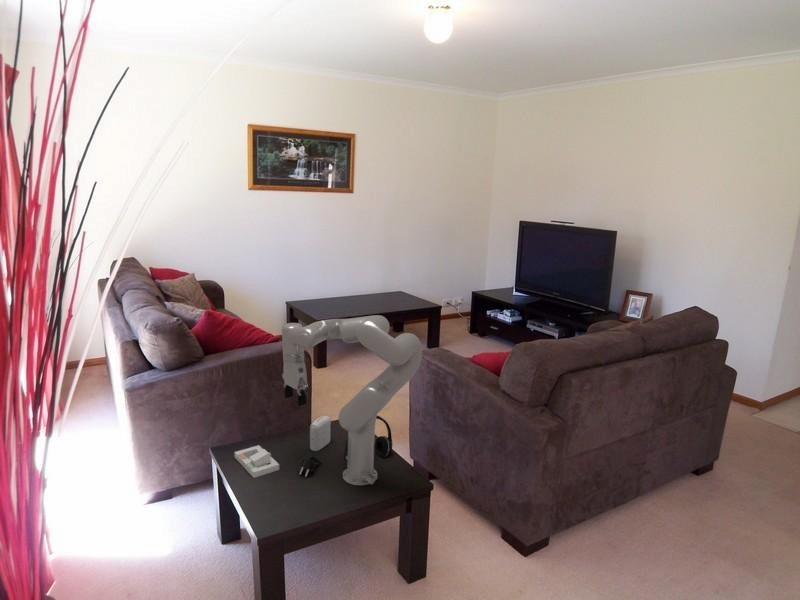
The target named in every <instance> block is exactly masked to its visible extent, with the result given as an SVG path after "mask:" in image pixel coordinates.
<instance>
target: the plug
mask: <svg viewBox="0 0 800 600" xmlns="http://www.w3.org/2000/svg"><path fill="white" fill-rule="evenodd" d="M262 449H263V450H261V451H259V452H258V453H256V454H254V455H252V456H250V460H251V462H252V463H253V464H254V466H255V467H256V468H259V467H262V466H265V465H267V464H269V463H270V462H271V459H270V456H271V457H272V453H271V452H270V451H269V452H268V451H267V450H266V449H265V448H262Z"/></svg>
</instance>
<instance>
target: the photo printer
mask: <svg viewBox="0 0 800 600" xmlns="http://www.w3.org/2000/svg"><path fill="white" fill-rule="evenodd" d="M331 422H332V421H331V418H330V417H329V416H327V415H322V416H320V417H318V418H317V419H315V420H314V421H313V422H311V424H310V426H309V449H310V450H311V451H314V452H318V451H320V450H321V449H323V448H324V447H325V446H327V445H329V443H330V442H331V425H332V424H331Z"/></svg>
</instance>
